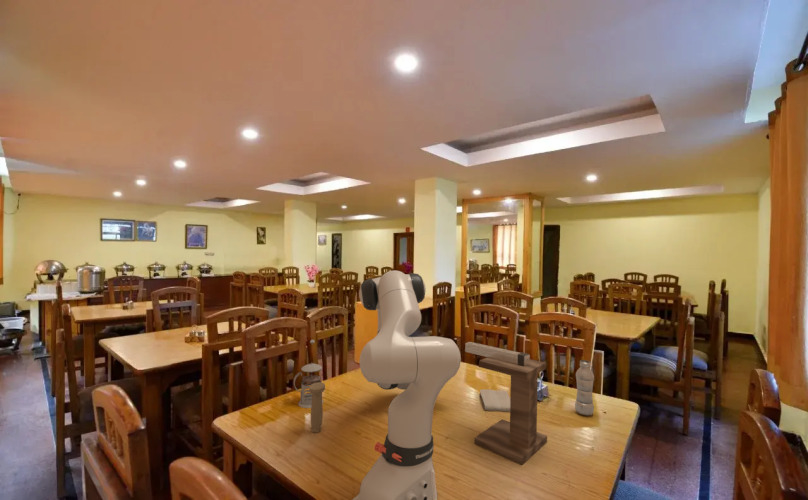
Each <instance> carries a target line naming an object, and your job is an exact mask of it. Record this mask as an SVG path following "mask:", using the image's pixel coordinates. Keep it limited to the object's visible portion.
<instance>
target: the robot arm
mask: <svg viewBox="0 0 808 500" xmlns="http://www.w3.org/2000/svg"><path fill="white" fill-rule="evenodd" d="M359 287H360V288H359V292H358V293H359V294H358V295H359V296H358V297H359V300H360V302H361V304H362V306H363V308H364V309H366V310H367V311H377V332H376V335H375V337H374V338H372V339H370V341H368V342H367V343H366V344H365V345H364V346H363V347H362V350H361V353H360V355H359V368H360V371H361V374H362V375H363V377H364V379H366V381H367V382H369V383H374V384H377V386H378V387H379V388H381V389H382V390H385V391H386V390H394V389H399V390H403V391H402V392H401V393H399V394H397V395H396V396H395V397H394V398H393V399H392V401H391V402H390V404H389V406H388V410H387V412H388V413H387V415H388V416H387V434H386V436H385V439H384V443H383V444H382V443H381V442H379V441H378V442H376V443H375V445H374V451H375V452H377V453H379V454H380V456H379V457H378V459H376V461H375V462H374V464H373V465H372V466H371V468H370V469H369V471H368V472H367V473H366V475H365V476H364V477H363V479H362V480H361V483H360V487H359V493H358V494H357V495H356V496H355V497H354V498H353V499H352V500H438V491H437V486H436V473H435V467H434V463H433V454H434V445H435V444H434V437H433V434H432V433H433V432H432V431H433V430H432V429H433V418H434V408H435V405H436V401H437V398H438V397H439V395H440V393H441V391H442V389H443V387H445V385H446V384H447V383H448V382H449V380H451V379H452V378H454V377H455V376H456V375H457V373H458V372H459V369H460V367H461V363H462V358H461V356H462V355H461V351H460V348H459V347H458V345H457V344H456V343H455V342H456V341H454V340H453V339H452V338H448V337H442V336H437V335H431V336H430V335H429V336H411V335H413V333H415V332H416V331H417V329H418V328H419V327H420V325H421V322H422V313H421V310H420V307H419V304H420V303H422V302H423V301H424V300H425V296H426V289H427V288H426V284H425V281H424V279H423V277H422V276H421V275H419V273H413V272H411V273H408V274H405V273H404V272H403V271H400V270H395V269H394V270H389V271H387V272H385V273H384V274H382V276H379V277H375V278H368V279H366V280H363V281H362V282H361V284H360V286H359Z"/></svg>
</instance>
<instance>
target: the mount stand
mask: <svg viewBox="0 0 808 500" xmlns="http://www.w3.org/2000/svg"><path fill="white" fill-rule="evenodd" d="M478 368H482V369H486V370H489V371H493V372H496V373H500V374H504V375H507V376H510V395H509V397H510V412H509V421H508V420H506V419H502V418H501V419H500V420H498V421H497V422H496V423H494V424H492V425H491V426H490V427H488V428H487V429H485V430H483V431H482V432H481V433H479V434H478V435H476V436H475V437H474V439H473V440H474V443H473V444H474V445H476V446H478V447H480V448H483V449H485V450H487V451H490V453H491V452H492V453H494V454H497V455H498V456H501V457H502V458H504V459H505V458H506V459H507V460H510V461H512V462H515V463H516V464H519V465H520V466H523V465H524V464H525V463H527V461H529V460H530V459H531V458H532V457H533V456H534V455H535V454H536V453H538V451H539V450H540V449H541V448H543V447H544V446H545V445H546V443H548V435H546V434H544V433H540V432H538V430H537V429H538V428H537V427H538V421H537V420H538V377H539V375H538V374H540V373H542V372H543V371H545V370H546V369H547V362H544V361H539V360H535V359H531V358H530V364H529V365H527V366H521V365H518V364H514V363H509V362H505V361H501V360H497V359H493V358H489V357H485V358H482V359H480V360H479V361H478Z"/></svg>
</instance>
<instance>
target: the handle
mask: <svg viewBox="0 0 808 500" xmlns="http://www.w3.org/2000/svg"><path fill="white" fill-rule="evenodd" d="M311 384H312V385H309V386H310V387H309V389H308V390H309V391H310V392H309V393H312V404H311V408H310V426H311V427H310V429H311V432H312V433H317V434H318V433H319V432H321V431H322V428H323V427H322V424H323V414H324V412H323V411H324V410H323V404H322V400H323V392H325V391H326V383H324V382H321V383H320V382H318V383H311Z"/></svg>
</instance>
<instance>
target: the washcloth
mask: <svg viewBox="0 0 808 500" xmlns="http://www.w3.org/2000/svg"><path fill="white" fill-rule="evenodd" d="M479 393H480V395H479V396H480V400H481V404H482V407H483V410H484V411H488V412H502V413H510V395H509V394H508V391H507V390H501V389H499V390H494V389H488V388H487V389H484V388H483V389H480V390H479Z"/></svg>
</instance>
